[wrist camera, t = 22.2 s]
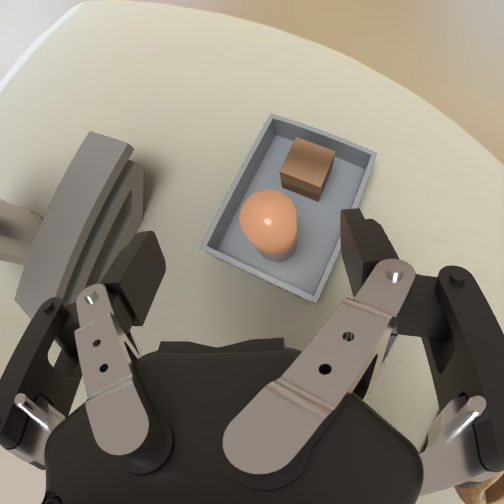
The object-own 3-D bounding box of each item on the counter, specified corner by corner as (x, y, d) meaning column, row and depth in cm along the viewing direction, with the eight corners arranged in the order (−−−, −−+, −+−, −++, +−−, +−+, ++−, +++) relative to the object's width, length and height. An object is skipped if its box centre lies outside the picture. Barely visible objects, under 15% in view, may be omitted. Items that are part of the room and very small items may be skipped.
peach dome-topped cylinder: (287, 268, 36) (281, 254, 25) (250, 251, 37) (229, 230, 26) (304, 231, 37) (305, 202, 26) (267, 215, 38) (254, 181, 27)
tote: (314, 303, 35) (316, 303, 31) (211, 255, 38) (199, 248, 34) (369, 169, 37) (377, 153, 32) (274, 132, 40) (270, 113, 35)
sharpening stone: (128, 163, 43) (89, 131, 33) (165, 178, 42) (128, 143, 31) (63, 303, 41) (14, 299, 31) (94, 329, 40) (43, 332, 29)
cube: (318, 202, 37) (320, 187, 32) (282, 187, 38) (279, 171, 33) (332, 169, 37) (335, 151, 32) (296, 156, 38) (296, 136, 33)
